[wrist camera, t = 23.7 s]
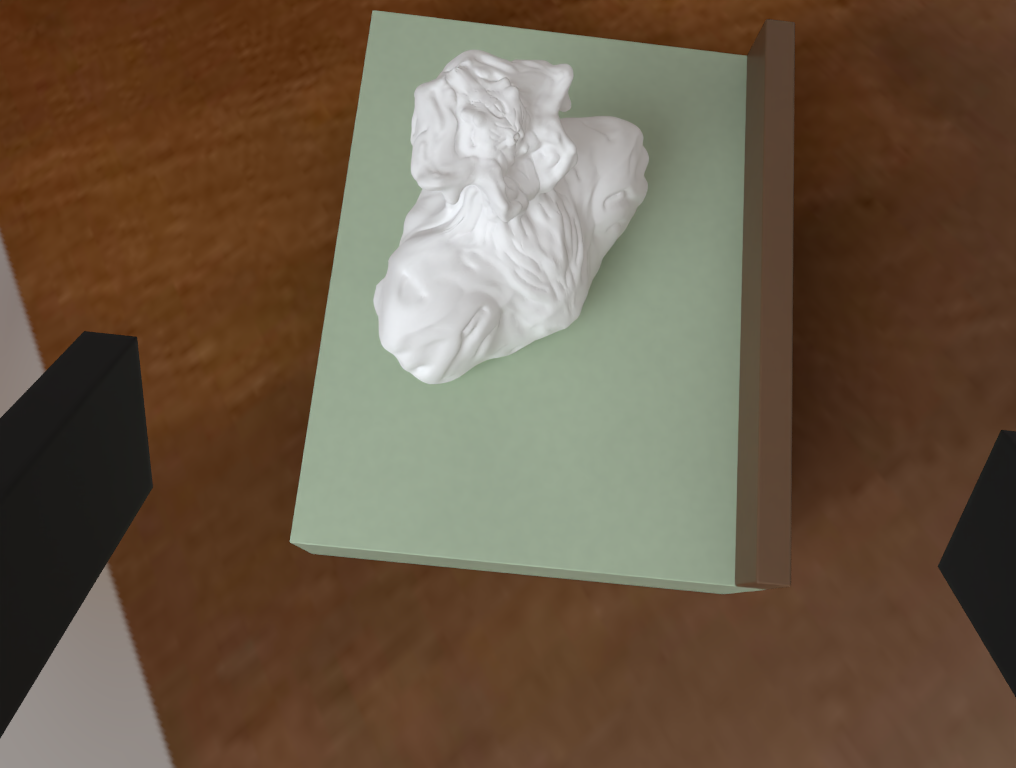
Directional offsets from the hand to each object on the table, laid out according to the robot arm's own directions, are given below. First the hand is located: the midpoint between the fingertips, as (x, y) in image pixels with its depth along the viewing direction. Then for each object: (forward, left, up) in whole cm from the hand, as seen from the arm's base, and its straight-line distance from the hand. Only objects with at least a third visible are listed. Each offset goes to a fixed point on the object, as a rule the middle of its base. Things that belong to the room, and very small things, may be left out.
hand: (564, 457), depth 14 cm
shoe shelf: (-4, +10, -23) cm, 26 cm away
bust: (-6, +9, -19) cm, 21 cm away
